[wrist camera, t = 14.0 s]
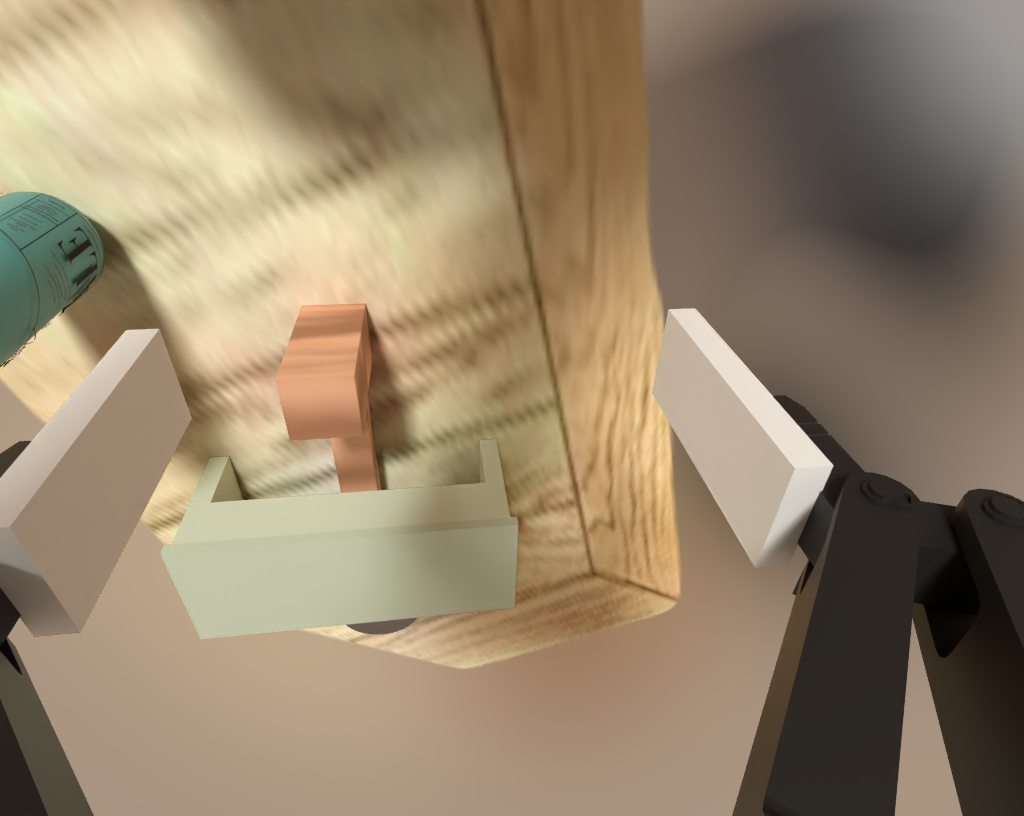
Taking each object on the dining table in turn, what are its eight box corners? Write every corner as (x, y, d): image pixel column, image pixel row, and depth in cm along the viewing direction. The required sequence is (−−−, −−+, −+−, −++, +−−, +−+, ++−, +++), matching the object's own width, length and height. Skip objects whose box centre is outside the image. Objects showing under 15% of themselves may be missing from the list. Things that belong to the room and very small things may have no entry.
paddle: (301, 305, 42) (275, 380, 34) (365, 303, 43) (353, 376, 35) (345, 524, 55) (333, 615, 47) (393, 520, 56) (390, 610, 48)
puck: (340, 559, 58) (336, 584, 56) (421, 558, 60) (421, 582, 57) (342, 611, 63) (339, 635, 60) (418, 608, 64) (418, 632, 62)
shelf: (203, 457, 49) (160, 553, 40) (501, 438, 52) (518, 524, 44) (233, 540, 55) (200, 639, 46) (500, 518, 58) (514, 607, 49)
